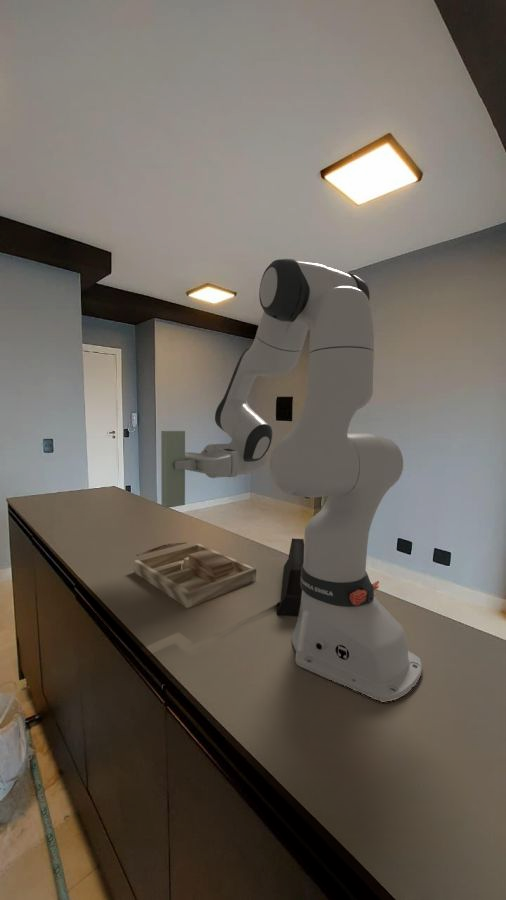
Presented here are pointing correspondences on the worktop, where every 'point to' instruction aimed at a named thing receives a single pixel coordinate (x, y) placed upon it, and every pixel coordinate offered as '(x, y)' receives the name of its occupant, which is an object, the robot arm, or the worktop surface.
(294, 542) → the barrier
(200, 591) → the beige wooden tray
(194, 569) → the offcut stack
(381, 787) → the worktop surface
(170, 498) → the sage green plank
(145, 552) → the wooden fragment
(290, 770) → the worktop surface
